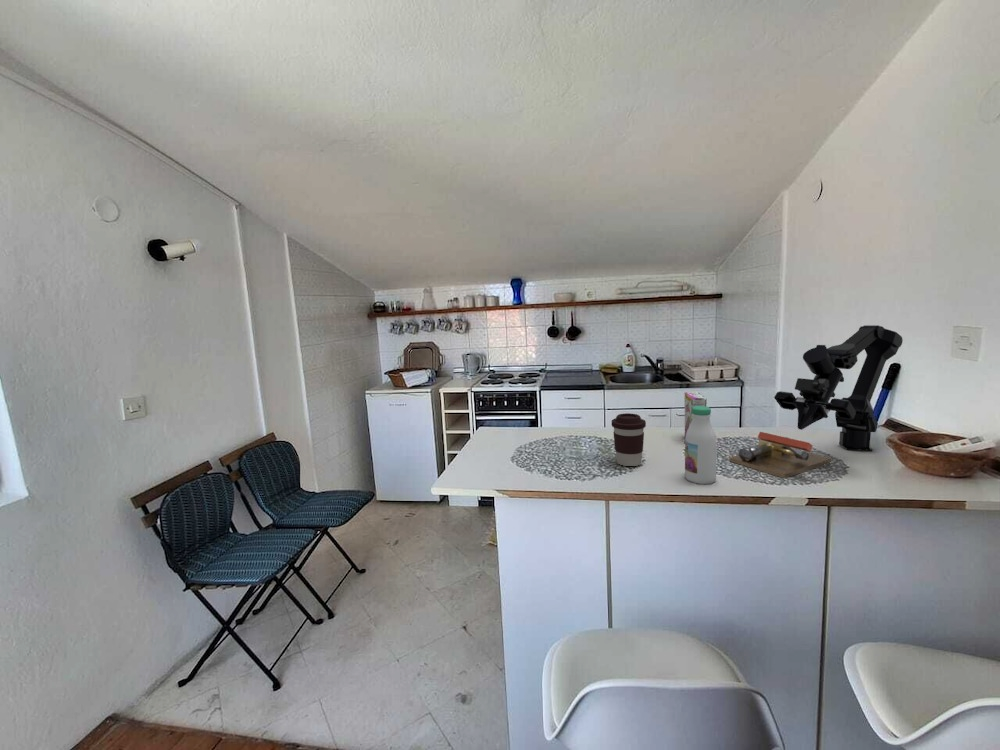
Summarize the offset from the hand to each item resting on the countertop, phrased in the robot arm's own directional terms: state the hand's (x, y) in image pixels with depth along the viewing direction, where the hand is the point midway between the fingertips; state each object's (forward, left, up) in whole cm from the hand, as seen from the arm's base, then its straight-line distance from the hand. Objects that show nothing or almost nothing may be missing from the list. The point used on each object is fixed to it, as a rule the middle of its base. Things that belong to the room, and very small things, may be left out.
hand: (799, 428), depth 118 cm
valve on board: (+4, -3, -11) cm, 12 cm away
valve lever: (-2, -2, -9) cm, 9 cm away
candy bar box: (+25, -21, -11) cm, 35 cm away
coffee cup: (+46, +6, -11) cm, 47 cm away
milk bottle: (+27, +15, -11) cm, 33 cm away
